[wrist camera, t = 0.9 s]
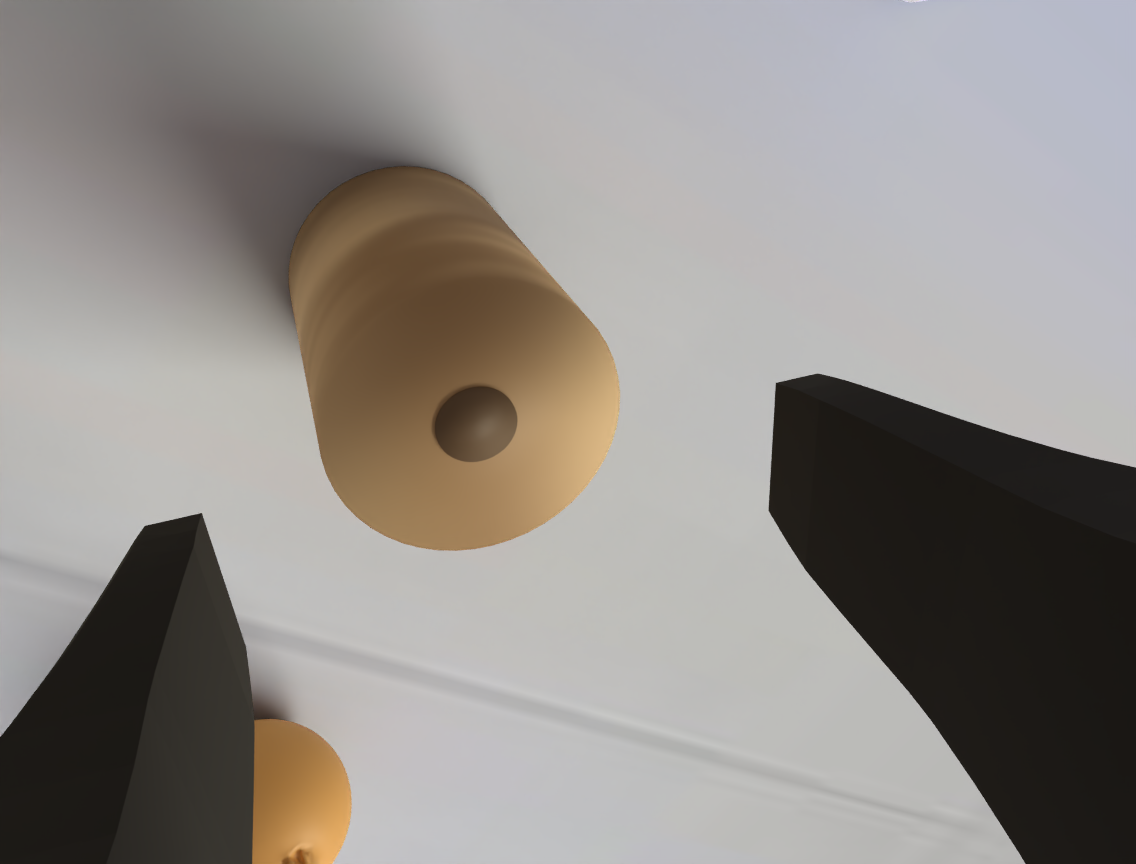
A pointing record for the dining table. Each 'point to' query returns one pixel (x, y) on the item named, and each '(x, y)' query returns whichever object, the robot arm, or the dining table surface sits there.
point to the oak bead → (444, 364)
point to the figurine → (297, 796)
